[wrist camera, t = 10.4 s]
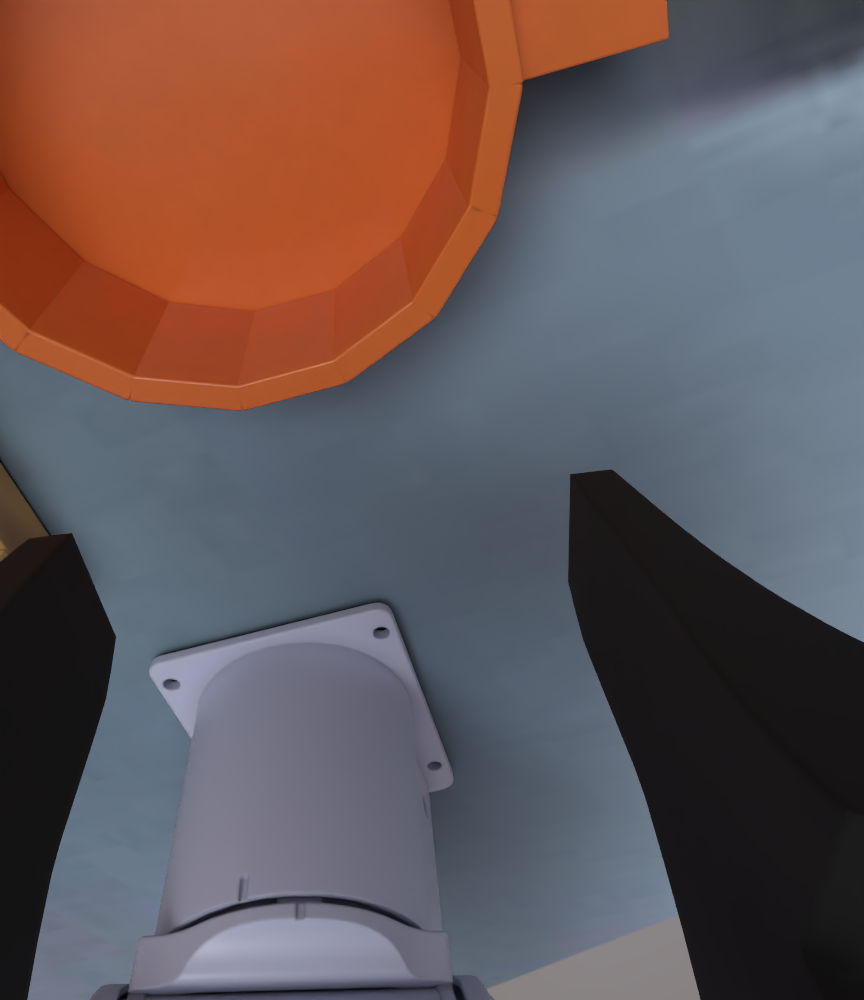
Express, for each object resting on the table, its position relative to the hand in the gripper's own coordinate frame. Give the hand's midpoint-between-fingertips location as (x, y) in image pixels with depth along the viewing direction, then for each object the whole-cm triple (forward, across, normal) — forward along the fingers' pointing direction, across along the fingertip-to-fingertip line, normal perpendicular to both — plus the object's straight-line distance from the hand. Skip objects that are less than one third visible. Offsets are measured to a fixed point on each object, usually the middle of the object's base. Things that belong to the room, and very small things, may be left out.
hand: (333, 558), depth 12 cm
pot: (+10, +2, -5) cm, 11 cm away
